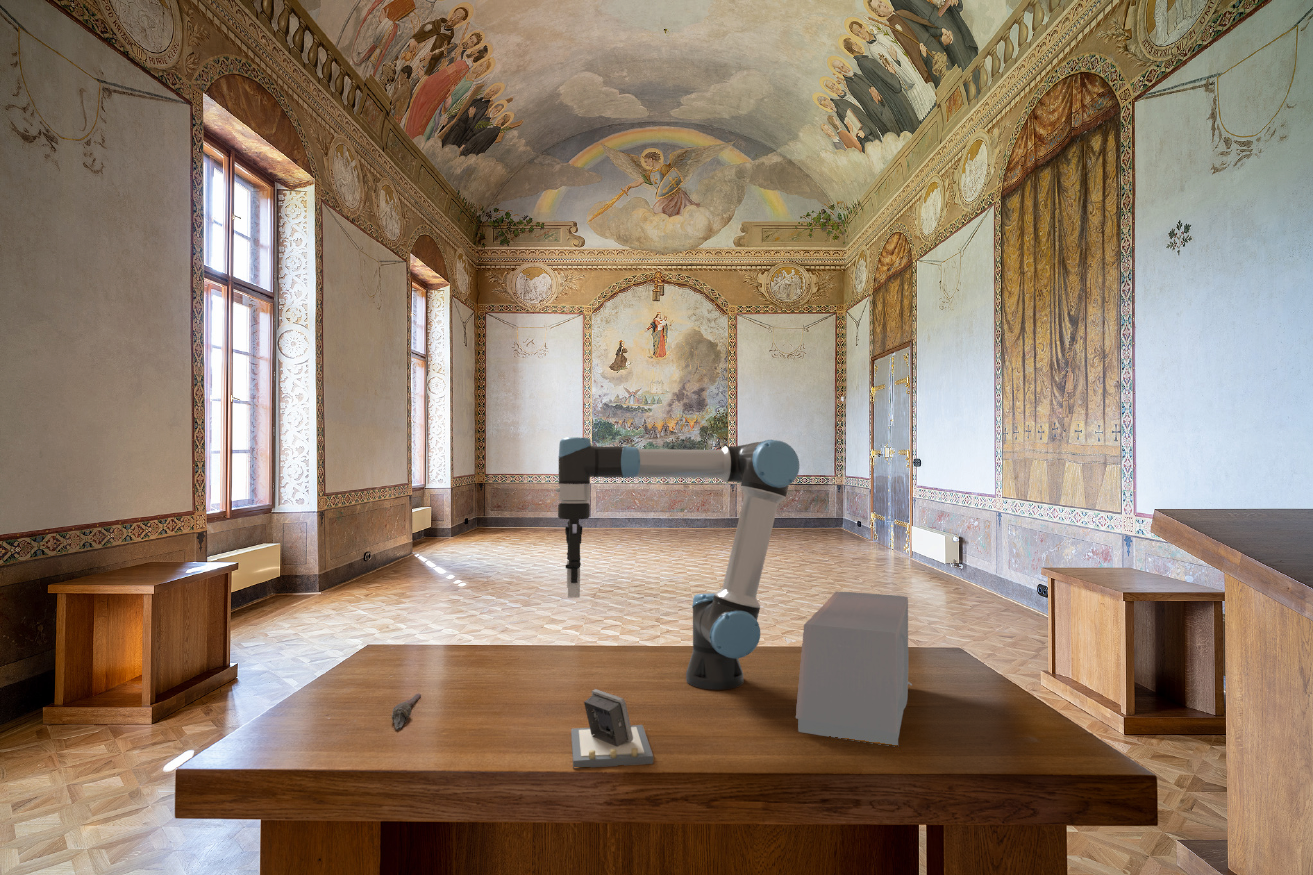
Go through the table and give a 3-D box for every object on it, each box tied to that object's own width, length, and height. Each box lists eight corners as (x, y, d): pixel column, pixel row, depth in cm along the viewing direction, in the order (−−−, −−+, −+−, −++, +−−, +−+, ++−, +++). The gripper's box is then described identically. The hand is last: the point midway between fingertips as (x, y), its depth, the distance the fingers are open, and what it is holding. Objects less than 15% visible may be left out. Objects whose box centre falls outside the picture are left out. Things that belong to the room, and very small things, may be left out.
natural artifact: (390, 739, 141) (379, 723, 141) (417, 699, 164) (408, 686, 163) (405, 728, 141) (394, 712, 141) (431, 689, 164) (421, 676, 164)
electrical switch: (634, 742, 132) (631, 695, 132) (615, 752, 128) (611, 704, 128) (602, 730, 138) (599, 685, 138) (583, 739, 134) (580, 693, 134)
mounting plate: (642, 731, 142) (642, 719, 142) (653, 763, 126) (653, 749, 126) (571, 735, 139) (571, 722, 139) (573, 768, 124) (573, 754, 124)
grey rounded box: (829, 677, 181) (829, 589, 182) (918, 689, 171) (917, 596, 173) (788, 735, 140) (788, 621, 142) (902, 755, 131) (901, 633, 132)
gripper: (558, 500, 171) (556, 583, 170) (558, 504, 146) (557, 602, 145) (587, 500, 172) (586, 583, 171) (592, 504, 147) (591, 601, 146)
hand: (573, 592), depth 158 cm, fingers open, 13 cm apart
